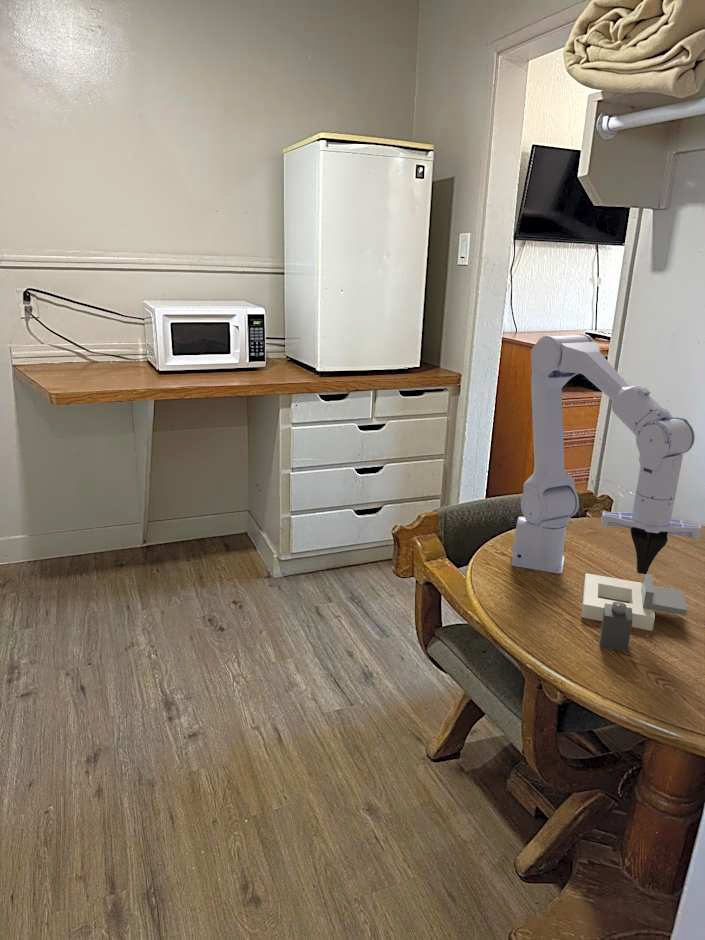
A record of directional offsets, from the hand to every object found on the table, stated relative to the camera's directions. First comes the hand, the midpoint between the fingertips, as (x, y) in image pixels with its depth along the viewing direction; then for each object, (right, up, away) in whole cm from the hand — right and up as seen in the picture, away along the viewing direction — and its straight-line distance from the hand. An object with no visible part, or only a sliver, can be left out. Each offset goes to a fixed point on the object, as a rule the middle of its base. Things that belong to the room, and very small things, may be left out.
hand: (641, 571), depth 111 cm
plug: (-7, -10, -5) cm, 13 cm away
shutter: (+5, -5, +2) cm, 8 cm away
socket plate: (-2, -7, +5) cm, 9 cm away
